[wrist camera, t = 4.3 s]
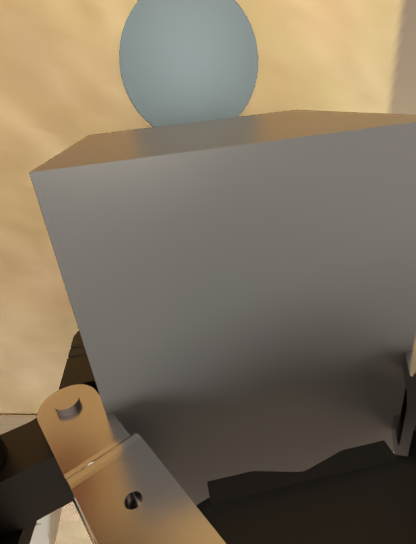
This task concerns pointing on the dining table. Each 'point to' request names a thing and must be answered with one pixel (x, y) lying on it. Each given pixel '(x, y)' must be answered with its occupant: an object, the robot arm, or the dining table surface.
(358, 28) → the dining table surface
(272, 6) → the dining table surface
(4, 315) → the dining table surface
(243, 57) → the spot
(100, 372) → the gray rectangular prism
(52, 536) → the product box
